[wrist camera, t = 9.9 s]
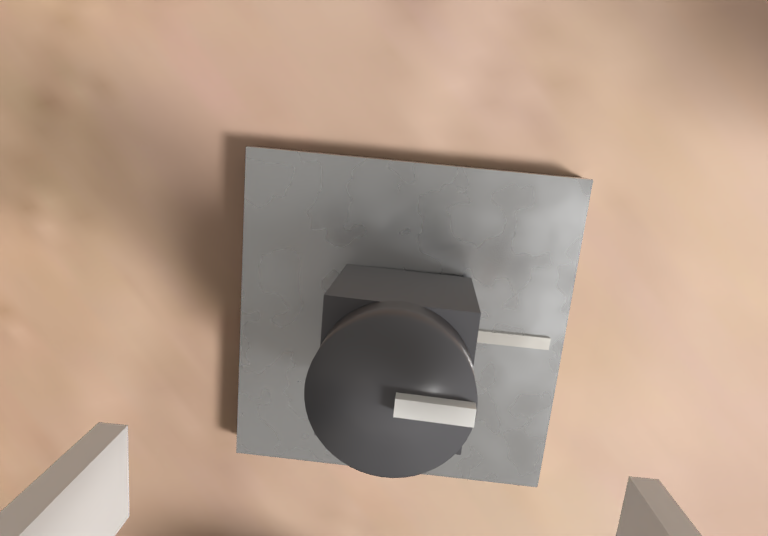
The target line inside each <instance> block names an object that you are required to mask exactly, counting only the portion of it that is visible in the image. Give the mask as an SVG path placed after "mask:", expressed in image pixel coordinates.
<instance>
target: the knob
mask: <svg viewBox="0 0 768 536" xmlns="http://www.w3.org/2000/svg"><path fill="white" fill-rule="evenodd" d="M480 317H481V311H480V308H479V304H478V300H477V297H476V293H475V289H474V286H473V282H472V278H469V277H460V276H451V275H442V274H433V273H424V272H415V271H406V270H398V269H389V268H380V267H371V266H362V265H353V264H346V266H345V267H344V268H343V270H342V271H341V272H340V274H339V275H338V276H337V278H336V279H335V280H334V282H333V283H332V284H331V286H330V287H329V288H328V290H327V291H326V292H325V294H324V298H323V312H322V327H321V341H320V348H319V349H318V351H317V353H316V355H315V356H314V358H313V360H312V362H311V364H310V367H309V369H308V372H307V376H306V380H305V387H304V401H305V408H306V413H307V416H308V420H309V422H310V424H311V427H312V429H313V431H314V435H316V436H317V437H318V439H319V440H320V441H321V443H322V444H323V445H324V447H325V448H326V449H327V450H328V451H329V452H330V453H331V454H332V455H334V456H335V457H336V458H338V459H339V460H340V461H341V462H343V463H345V464H346V465H348V466H350V467H352V468H354V469H356V470H358V471H361V472H364V473H367V474H370V475H374V476H379V477H388V478H403V477H410V476H415V475H419V474H423V473H426V472H428V471H430V470H433V469H435V468H437V467H438V466H440V465H442V464H444V463H445V462H446V461H448V460H449V459H450V458H452V457H453V456H454V455H455V454H457V455H461V451H462V446H463V444H464V443H465V442H466V440H467V438H468V437H469V435H470V433H471V431H472V428H474V424H475V419H476V414H477V406H478V397H477V387H476V381H475V375H474V369H473V366H474V359H475V352H476V345H477V338H478V331H479V324H480Z"/></svg>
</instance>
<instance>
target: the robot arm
mask: <svg viewBox="0 0 768 536" xmlns="http://www.w3.org/2000/svg"><path fill="white" fill-rule="evenodd" d="M128 517H129V464H128V425H121V424H111V423H102V422H99V423H98V424H96V425H95V426H94V427H93V428H92V429H91V430H90V431H89V432H88V433H87V434H85V435H84V436H83V437H82V438H81V439H80V440H79V441H78V442H77V443H76V444H74V445H73V446H72V447H71V448H70V449H69V450H68V451H67V452H66V453H65V454H63V455H62V456H61V457H60V458H59V459H58V460H57V461H56V462H55V463H53V464H52V465H51V466H50V467H49V468H48V469H47V470H46V471H45V472H44V473H42V474H41V475H40V476H39V477H38V478H37V479H36V480H35V481H34V482H33V483H31V484H30V485H29V486H28V487H27V488H26V489H25V490H24V491H23V492H22V493H20V494H19V495H18V496H17V497H16V498H15V499H14V500H13V501H12V502H11V503H9V504H8V505H7V506H6V507H5V508H4V509H3V510H2V511H1V512H0V536H115V535H116V534H117V532H118V531H119V530H120V528H121V527H122V526H123V524H124V523H125V522H126V520H127V519H128ZM616 536H702V535H701V534H700V533H699V531H698V530H697V529H696V527H695V526H694V525H693V523H692V522H691V521H690V520H689V518H688V517H687V516H686V514H685V513H684V512H683V510H682V509H681V508H680V507H679V505H678V504H677V503H676V501H675V500H674V499H673V497H672V496H671V495H670V494H669V492H668V491H667V490H666V488H665V487H664V486H663V484H662V483H661V482H660V481H659V479H649V478H639V477H630V476H629V479H628V483H627V488H626V492H625V497H624V501H623V506H622V511H621V515H620V520H619V524H618V529H617V533H616Z"/></svg>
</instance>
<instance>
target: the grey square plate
mask: <svg viewBox="0 0 768 536" xmlns="http://www.w3.org/2000/svg"><path fill="white" fill-rule="evenodd" d="M592 183H593V180H592V179H587V178H581V177H571V176H560V175H550V174H539V173H529V172H518V171H508V170H497V169H487V168H477V167H466V166H456V165H445V164H435V163H424V162H414V161H404V160H393V159H383V158H372V157H362V156H351V155H341V154H331V153H320V152H310V151H299V150H289V149H278V148H268V147H258V146H246V159H245V192H244V224H243V256H242V289H241V321H240V354H239V386H238V418H237V451H236V453H244V454H253V455H262V456H270V457H279V458H288V459H297V460H305V461H314V462H323V463H331V464H340V465H346V464H345V463H343V462H341V461H340V460H339V459H338V458H336V457H335V456H334V455H332V454H331V453H330V452H329V451H328V450H327V449H326V448H325V447H324V445H323V444H322V443H321V441H320V440H319V439H318V437H317V436H316V435H314V431H313V429H312V427H311V424H310V422H309V420H308V416H307V413H306V408H305V401H304V387H305V380H306V376H307V372H308V369H309V367H310V364H311V362H312V360H313V358H314V356H315V355H316V353H317V351H318V349H319V348H320V341H321V327H322V312H323V298H324V294H325V292H326V291H327V290H328V288H329V287H330V286H331V284H332V283H333V282H334V280H335V279H336V278H337V276H338V275H339V274H340V272H341V271H342V270H343V268H344V267H345V266H346V264H353V265H362V266H371V267H380V268H389V269H398V270H406V271H415V272H424V273H433V274H442V275H451V276H460V277H469V278H472V282H473V286H474V289H475V293H476V297H477V300H478V304H479V308H480V311H481V317H480V324H479V331H478V338H477V345H476V352H475V359H474V366H473V369H474V375H475V381H476V387H477V397H478V406H477V414H476V419H475V424H474V428H472V431H471V433H470V435H469V437H468V438H467V440H466V442H465V443H464V444H463V446H462V451H461V455H457V454H455V455H454V456H453V457H452V458H450V459H449V460H448V461H446V462H445V463H444V464H442V465H440V466H438V467H437V468H435V469H433V470H430V471H428V472H426V473H423V474H427V475H436V476H444V477H453V478H462V479H470V480H479V481H488V482H496V483H505V484H514V485H522V486H531V487H537V486H538V481H539V475H540V470H541V464H542V458H543V453H544V447H545V442H546V436H547V431H548V425H549V420H550V414H551V409H552V403H553V398H554V392H555V387H556V381H557V376H558V370H559V365H560V359H561V354H562V348H563V343H564V337H565V332H566V326H567V321H568V315H569V310H570V304H571V299H572V293H573V288H574V282H575V277H576V271H577V266H578V260H579V255H580V249H581V244H582V238H583V233H584V227H585V222H586V216H587V211H588V205H589V200H590V194H591V189H592Z"/></svg>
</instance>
